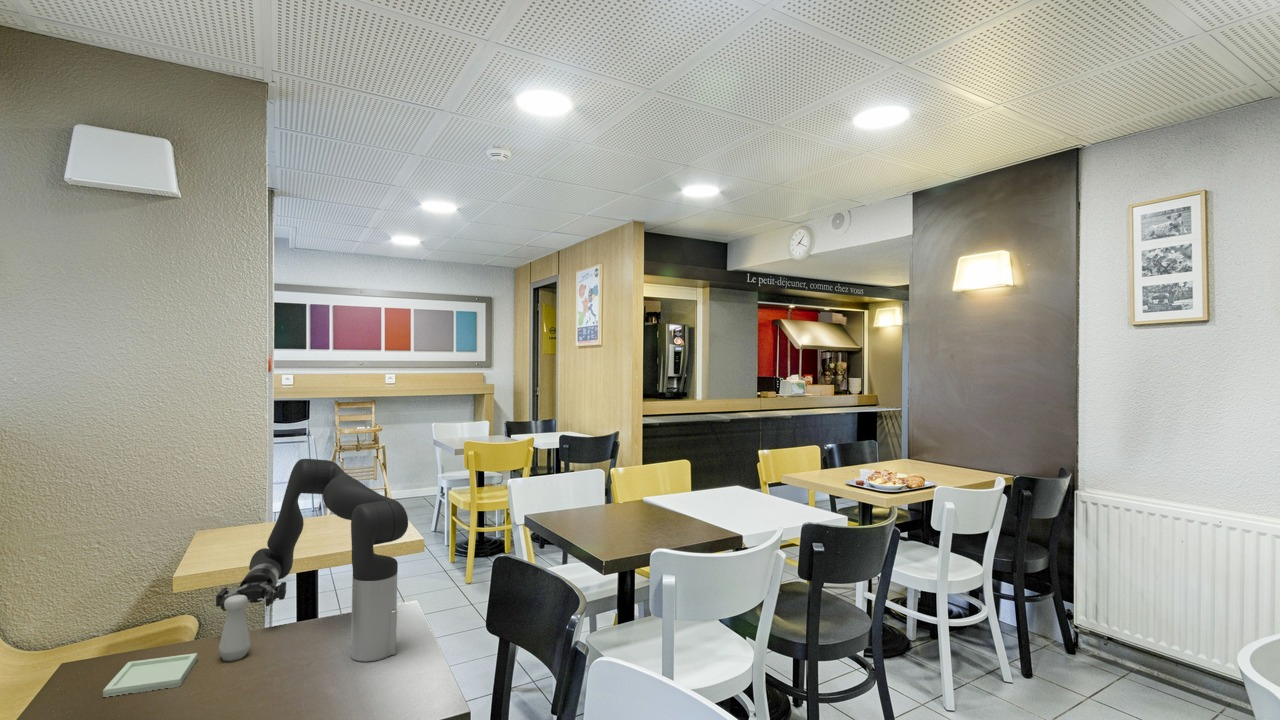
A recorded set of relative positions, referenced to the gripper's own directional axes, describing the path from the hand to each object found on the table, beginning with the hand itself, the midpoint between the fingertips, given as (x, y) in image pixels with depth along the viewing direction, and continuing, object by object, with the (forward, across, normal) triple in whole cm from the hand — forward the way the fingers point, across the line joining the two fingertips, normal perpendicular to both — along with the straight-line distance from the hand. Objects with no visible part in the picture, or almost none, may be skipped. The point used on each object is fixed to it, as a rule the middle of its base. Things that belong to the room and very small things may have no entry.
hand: (246, 604), depth 144 cm
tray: (+16, -13, +8) cm, 22 cm away
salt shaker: (+11, 0, +8) cm, 13 cm away
